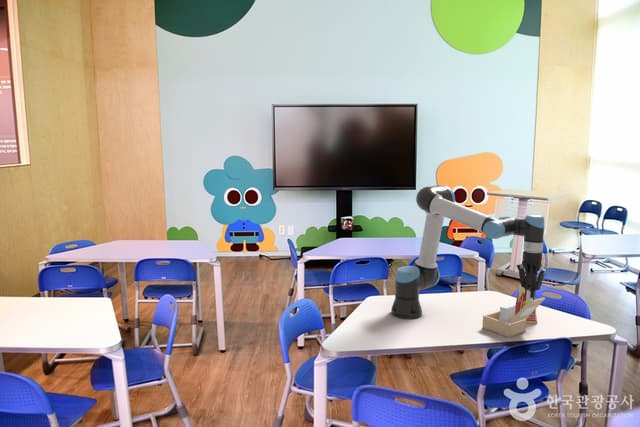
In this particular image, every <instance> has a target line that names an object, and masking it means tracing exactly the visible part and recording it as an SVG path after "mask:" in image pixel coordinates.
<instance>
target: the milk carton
mask: <svg viewBox="0 0 640 427" xmlns="http://www.w3.org/2000/svg"><path fill="white" fill-rule="evenodd" d="M533 300H536V296H535V297H534V298H533ZM525 304H526V297H525V288H523V287H521V284H520V285H519V286H518V292H517V295H516V300H515V305H514V306H515V315H516V314H517V313H518V312H519V311H520V310H521V309H522V308H523V307H524V305H525ZM536 310H537V308H536V309H535V310H534V311H533V312H532V314H531V315H530V316H529V317H528V318H527V319H526V324H527V323H528V324H538V318H537V311H536Z"/></svg>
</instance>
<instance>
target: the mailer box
mask: <svg viewBox="0 0 640 427" xmlns="http://www.w3.org/2000/svg"><path fill="white" fill-rule="evenodd" d="M514 317H515V305H514V304H510V303H508V304H506V305H502V306H500V307H499V310H498V311H494V312H491V313H488V314H484V315H482V325H481V326H482V329H484V330H487V331H489V332H491V333H495V334H498V335H499V336H500V335H501V336H502V337H506V338H508V339H509V338H513V337H515V336H519V335H521V334H524V333H526V328H527V326H526V324H527V322H526V319H524V320H521V321H518V322H515V323H512V324H510V323H509V322H510V321H511V320H512V319H513V318H514Z"/></svg>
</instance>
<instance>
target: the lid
mask: <svg viewBox="0 0 640 427" xmlns="http://www.w3.org/2000/svg"><path fill="white" fill-rule="evenodd" d="M545 299H546V298H545V297H544V296H543V297H540V298H535V300H532V301H529V302H527V303H526V304H525V305H524V307H523V308H522V309H521V310H520V311H519V312H518V313H517V314H516V315H515V317H514V318H513V319H512V320H511V321H510V322H509V323H510V324H512V323H515V322H518V321H521V320H524V319H527V318H528V317H529V316H530V315H531V314H532V312H533V311H534V310H535V309H536V310H537V308H538V307H540V305H541V304H542V303H543V302H544V301H545Z"/></svg>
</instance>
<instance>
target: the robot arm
mask: <svg viewBox="0 0 640 427" xmlns="http://www.w3.org/2000/svg"><path fill="white" fill-rule="evenodd" d="M415 202H416V206H418V207H419V209H420V210H422V211H424V212H425V214H426V215H425V216H426V217H425V221H424V226H423V233H422V239H421V243H420V244H421V245H420V249H419V254H418V255H419V256H418V258H417V259H415V261H414V264H413V265H406V266H405V265H404V266H401V267H398V268H397V269H396V271H395V277H394V278H395V280H394V282H395V283H394V284H395V289H394V290H395V291H394V294H395V295H394V297H395V298H394V300H393V304H392V306H391V310H390V311H391V312H390V313H391V315H392V316H393V317H396V318H400V319H409V320H410V319H418V318H421V317H422V316H423V310H422V306H421V303H420V291H423V290H425V289H429V288H432V287H434V286H435V285H437V284H438V283H439V281H440V278H441V277H440V276H441V274H440V271H439V265H438V263H437V256H438V250H439V246H440V241H441V234H442V230H443V226H444V220H445V218H447V219H449V220H452V221H454V222H456V223H459V224H460V225H463V226H466V227H469V228H471V229H474V230H475V231H478V232H480V233H483V234H484V235H485V237H487V238H488V239H489V240H490V239H491V240H497V239H498V240H499V239H501V238H503V237H508V236H520V237H523V251H522V262H521V263H520V264H517V265H516V268H517V270H518V275H519V282H520V285H521V287H523V288H525V297H526V303H527V302H529V301H532V300H533V298H534V297H535V298H536V291H539V290H541V288H542V283H543V280H544V277H545V275H547V272H548V270H547V269H544V267H543V264H542V261H543V249H544V236H545V235H544V234H545V228H546V227H545V217H544V216H543V215H539V214H526V215H525V218H519V217H513V216H512V217H511V216H500V217H498V218H494V217H492V216H490V215H487V214H485V213H482V212H479V211H477V210H474V209H472V208H469V207H467V206H464V205H461V204H459V203H456V196H455V193H454V191H453V190H452V188H451V187H449V186H446V185H439V184H438V185H433V186H424V187H422V188H421V189H420V190H419V191H418V192H417V194H416V197H415Z"/></svg>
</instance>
